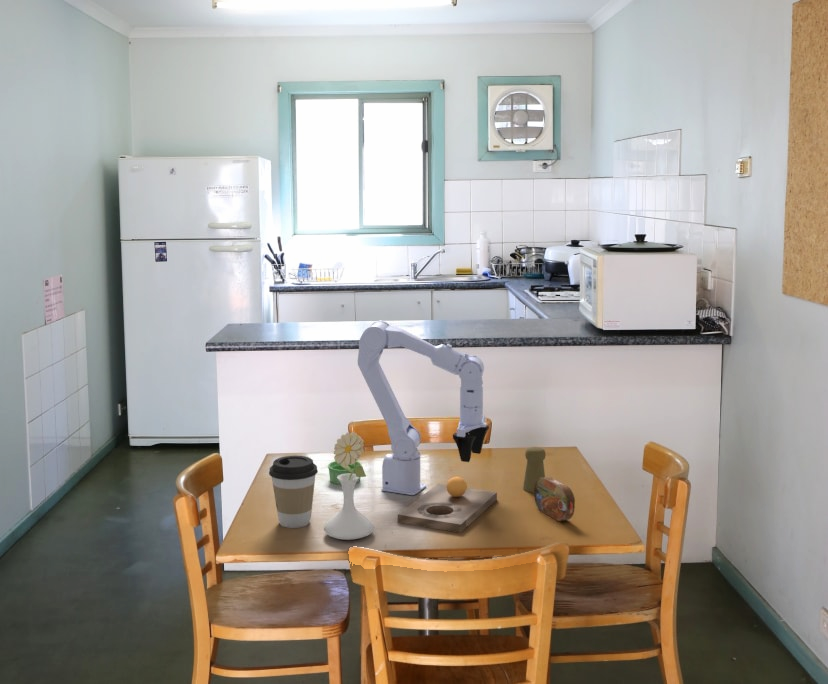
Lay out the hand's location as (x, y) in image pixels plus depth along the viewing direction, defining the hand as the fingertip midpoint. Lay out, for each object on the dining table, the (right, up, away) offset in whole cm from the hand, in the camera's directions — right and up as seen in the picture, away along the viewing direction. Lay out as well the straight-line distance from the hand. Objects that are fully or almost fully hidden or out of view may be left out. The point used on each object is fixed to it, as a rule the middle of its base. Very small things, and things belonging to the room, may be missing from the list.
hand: (470, 457), depth 252 cm
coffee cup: (-43, -13, -18) cm, 48 cm away
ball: (-4, -6, -8) cm, 11 cm away
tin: (+19, -12, -14) cm, 27 cm away
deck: (-6, -12, -11) cm, 17 cm away
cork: (+17, -9, +5) cm, 19 cm away
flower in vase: (-29, -15, -27) cm, 42 cm away
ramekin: (-33, -8, +12) cm, 36 cm away
